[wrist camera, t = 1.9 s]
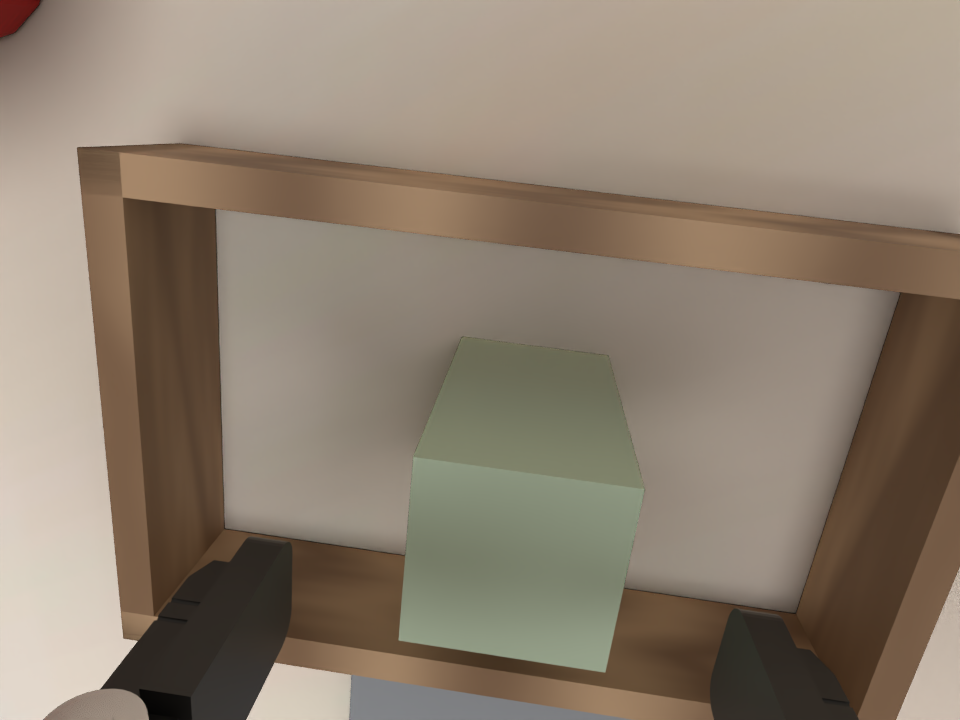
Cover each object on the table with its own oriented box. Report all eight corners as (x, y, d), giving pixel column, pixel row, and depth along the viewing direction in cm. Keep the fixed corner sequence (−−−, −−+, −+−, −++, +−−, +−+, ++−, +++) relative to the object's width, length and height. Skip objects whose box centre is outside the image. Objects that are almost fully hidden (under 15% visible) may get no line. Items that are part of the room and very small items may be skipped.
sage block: (608, 355, 20) (644, 489, 13) (585, 484, 22) (605, 672, 14) (462, 336, 20) (413, 456, 13) (449, 465, 22) (398, 640, 14)
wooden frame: (959, 234, 18) (1085, 266, 14) (817, 642, 23) (879, 758, 19) (179, 143, 19) (77, 147, 15) (198, 548, 24) (123, 638, 20)
